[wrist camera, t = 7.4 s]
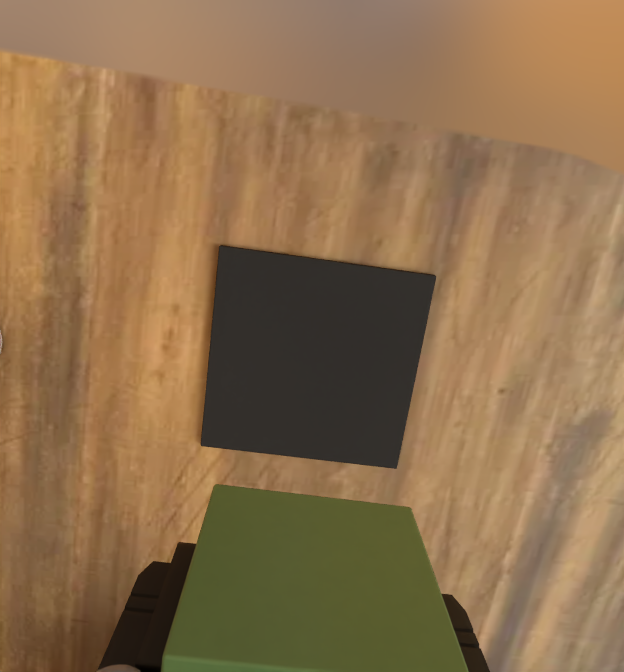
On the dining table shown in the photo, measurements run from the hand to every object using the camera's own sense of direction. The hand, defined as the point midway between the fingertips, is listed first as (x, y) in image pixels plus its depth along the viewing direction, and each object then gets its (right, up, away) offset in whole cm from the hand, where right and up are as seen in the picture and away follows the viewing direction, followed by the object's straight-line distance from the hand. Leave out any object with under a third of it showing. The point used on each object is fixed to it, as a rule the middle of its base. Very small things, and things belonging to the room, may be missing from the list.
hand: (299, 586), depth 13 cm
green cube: (0, 0, 0) cm, 0 cm away
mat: (0, +5, +17) cm, 18 cm away
